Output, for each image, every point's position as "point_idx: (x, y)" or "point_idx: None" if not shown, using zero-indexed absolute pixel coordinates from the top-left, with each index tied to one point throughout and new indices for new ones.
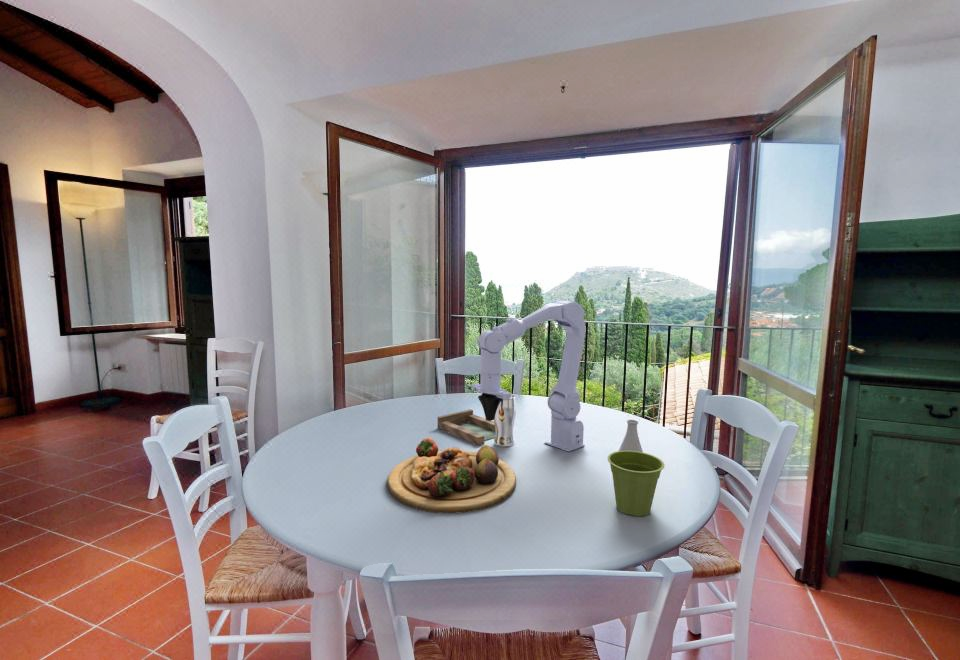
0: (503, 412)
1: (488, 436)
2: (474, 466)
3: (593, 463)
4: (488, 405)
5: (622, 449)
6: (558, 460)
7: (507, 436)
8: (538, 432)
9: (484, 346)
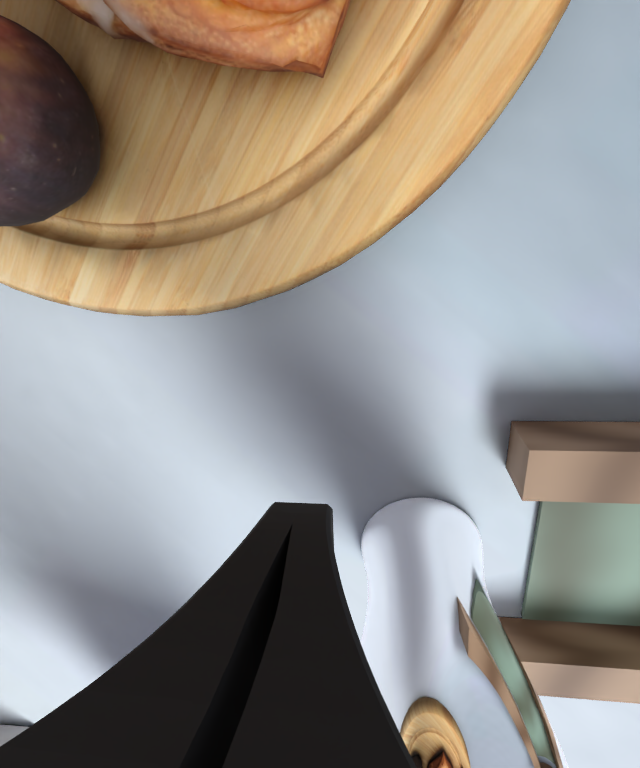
0: None
1: (568, 555)
2: (106, 62)
3: (4, 624)
4: (106, 690)
5: None
6: (87, 563)
7: (371, 575)
8: None
9: None
